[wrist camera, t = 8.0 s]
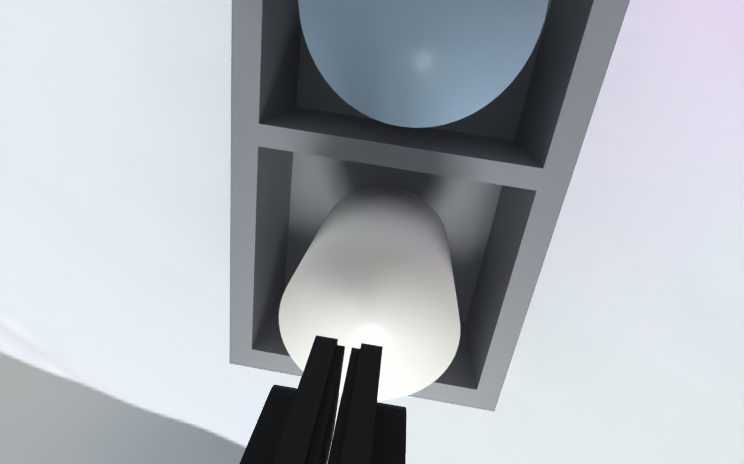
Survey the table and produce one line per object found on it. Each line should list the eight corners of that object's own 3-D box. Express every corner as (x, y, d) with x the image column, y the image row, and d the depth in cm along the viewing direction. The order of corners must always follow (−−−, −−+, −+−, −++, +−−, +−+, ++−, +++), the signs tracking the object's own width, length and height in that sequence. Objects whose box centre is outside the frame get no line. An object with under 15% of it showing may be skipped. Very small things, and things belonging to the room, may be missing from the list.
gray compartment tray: (723, -524, 12) (934, -926, 7) (478, 336, 24) (494, 411, 19) (309, -561, 13) (237, -960, 8) (268, 299, 25) (229, 363, 20)
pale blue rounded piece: (520, -64, 14) (585, -138, 9) (480, 112, 16) (512, 143, 11) (351, -87, 14) (307, -174, 9) (334, 90, 16) (290, 109, 11)
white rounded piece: (461, 197, 18) (479, 264, 12) (434, 313, 20) (440, 413, 14) (326, 175, 18) (283, 231, 12) (314, 292, 20) (274, 383, 14)
